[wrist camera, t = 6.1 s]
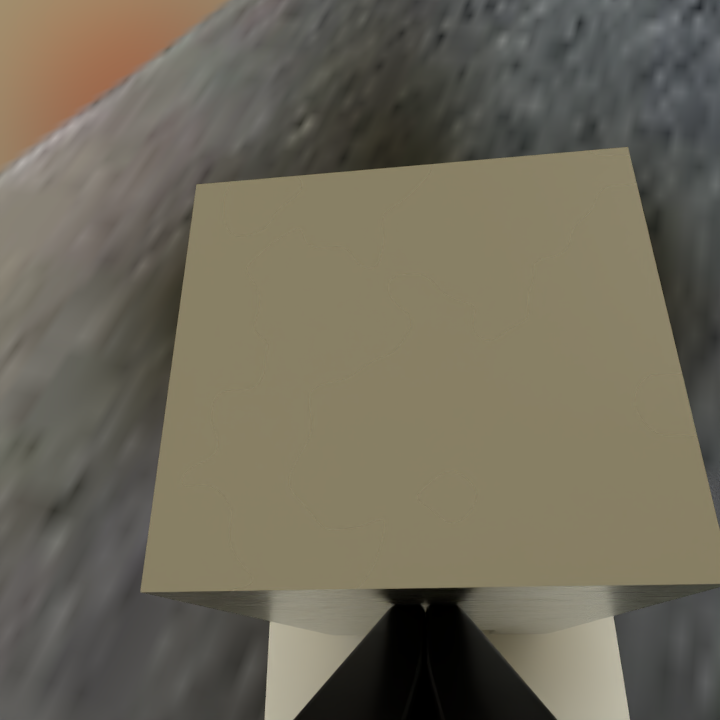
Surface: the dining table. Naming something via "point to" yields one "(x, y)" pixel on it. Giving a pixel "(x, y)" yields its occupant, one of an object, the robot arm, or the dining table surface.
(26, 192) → the dining table surface
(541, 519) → the beige tall block
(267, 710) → the base board
